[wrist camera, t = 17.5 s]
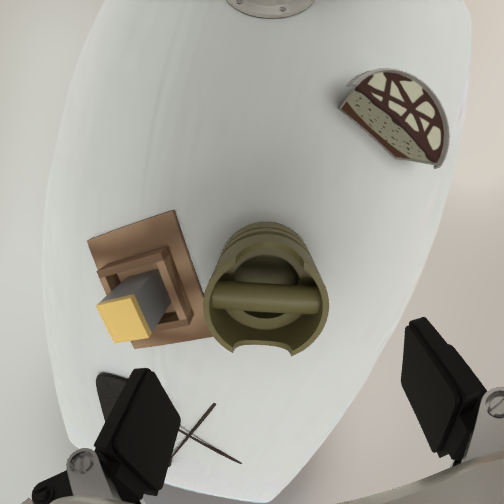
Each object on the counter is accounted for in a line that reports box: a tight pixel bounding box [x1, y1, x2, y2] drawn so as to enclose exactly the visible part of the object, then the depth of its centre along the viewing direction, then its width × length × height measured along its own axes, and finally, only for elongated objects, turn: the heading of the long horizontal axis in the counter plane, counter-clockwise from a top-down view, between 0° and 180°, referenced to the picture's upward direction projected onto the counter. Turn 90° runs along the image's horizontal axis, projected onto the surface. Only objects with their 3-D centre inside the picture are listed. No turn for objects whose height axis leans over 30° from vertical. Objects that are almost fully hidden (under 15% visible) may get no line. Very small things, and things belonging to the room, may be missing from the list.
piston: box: [203, 222, 329, 356], centre depth 31 cm, size 11×12×11 cm
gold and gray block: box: [96, 269, 171, 343], centre depth 34 cm, size 5×5×9 cm
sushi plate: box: [96, 375, 242, 467], centre depth 47 cm, size 29×30×4 cm
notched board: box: [87, 210, 213, 349], centre depth 37 cm, size 18×14×4 cm
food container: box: [339, 68, 450, 169], centre depth 26 cm, size 12×6×10 cm, turn 54°
